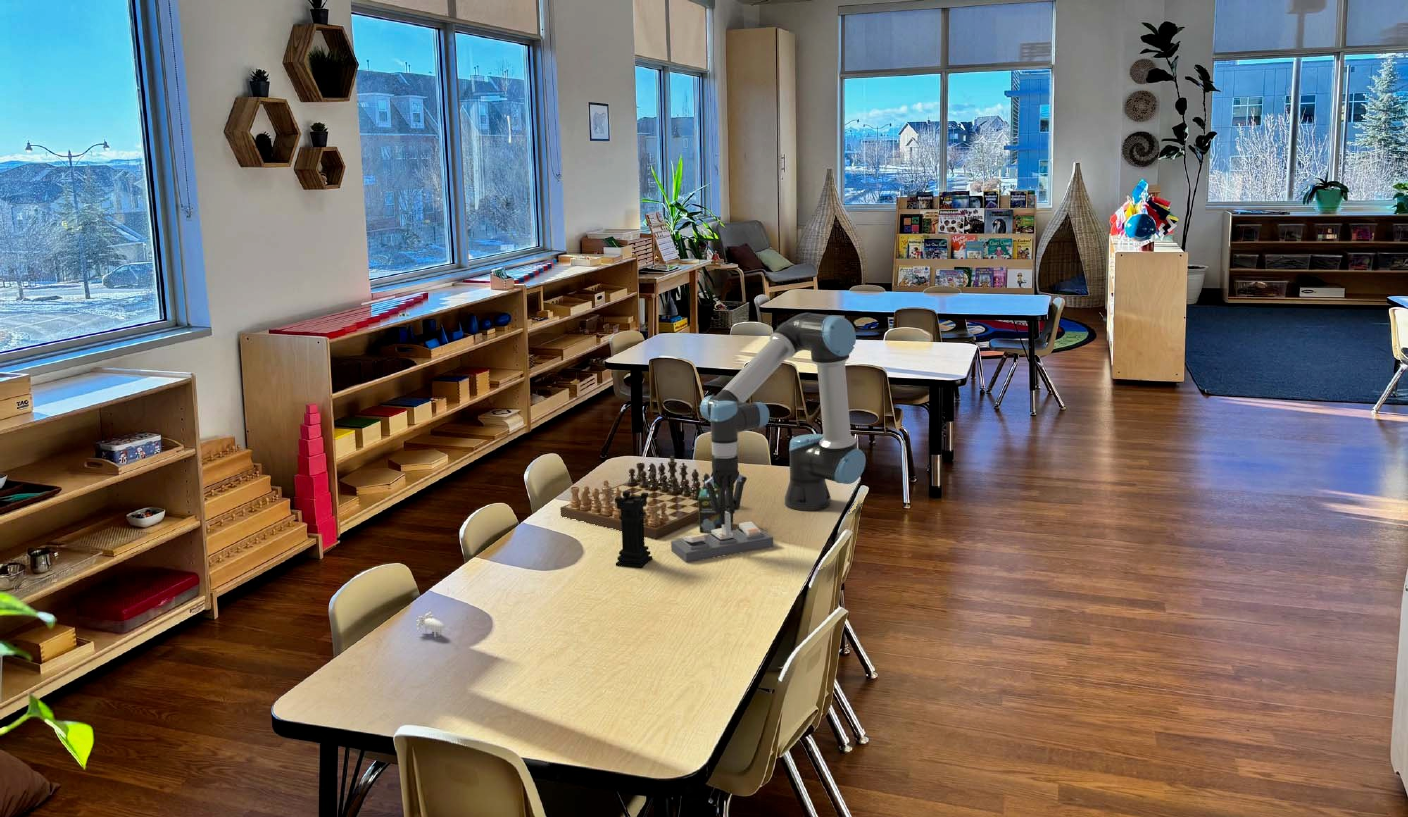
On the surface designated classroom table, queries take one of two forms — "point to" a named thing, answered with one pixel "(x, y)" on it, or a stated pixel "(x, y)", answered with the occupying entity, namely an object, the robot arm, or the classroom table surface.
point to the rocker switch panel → (720, 545)
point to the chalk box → (708, 512)
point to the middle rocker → (720, 534)
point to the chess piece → (632, 531)
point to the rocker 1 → (694, 538)
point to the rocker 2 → (749, 528)
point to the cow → (430, 623)
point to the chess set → (664, 505)
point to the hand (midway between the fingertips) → (726, 534)
